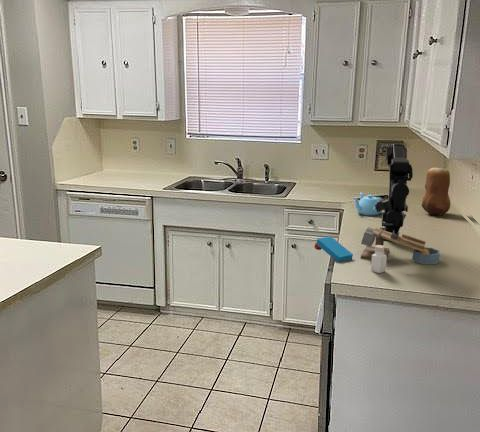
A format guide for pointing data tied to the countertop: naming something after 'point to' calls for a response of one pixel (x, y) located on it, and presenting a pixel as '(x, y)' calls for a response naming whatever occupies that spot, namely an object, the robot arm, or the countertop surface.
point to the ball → (424, 251)
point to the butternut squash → (437, 191)
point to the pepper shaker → (378, 260)
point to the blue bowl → (426, 256)
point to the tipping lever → (392, 238)
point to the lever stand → (371, 250)
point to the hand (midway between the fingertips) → (396, 233)
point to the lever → (333, 249)
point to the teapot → (367, 205)
